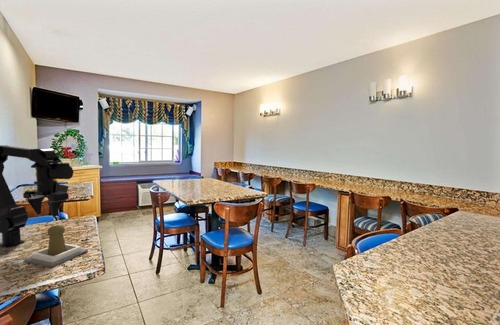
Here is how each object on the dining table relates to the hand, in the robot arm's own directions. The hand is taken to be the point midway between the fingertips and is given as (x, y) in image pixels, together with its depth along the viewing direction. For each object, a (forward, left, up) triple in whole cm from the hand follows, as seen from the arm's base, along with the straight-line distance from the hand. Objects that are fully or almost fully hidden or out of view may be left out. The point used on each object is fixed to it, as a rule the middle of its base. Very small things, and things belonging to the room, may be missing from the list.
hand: (46, 215), depth 108 cm
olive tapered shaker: (+14, -6, -12) cm, 19 cm away
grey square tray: (+14, -6, -13) cm, 20 cm away
